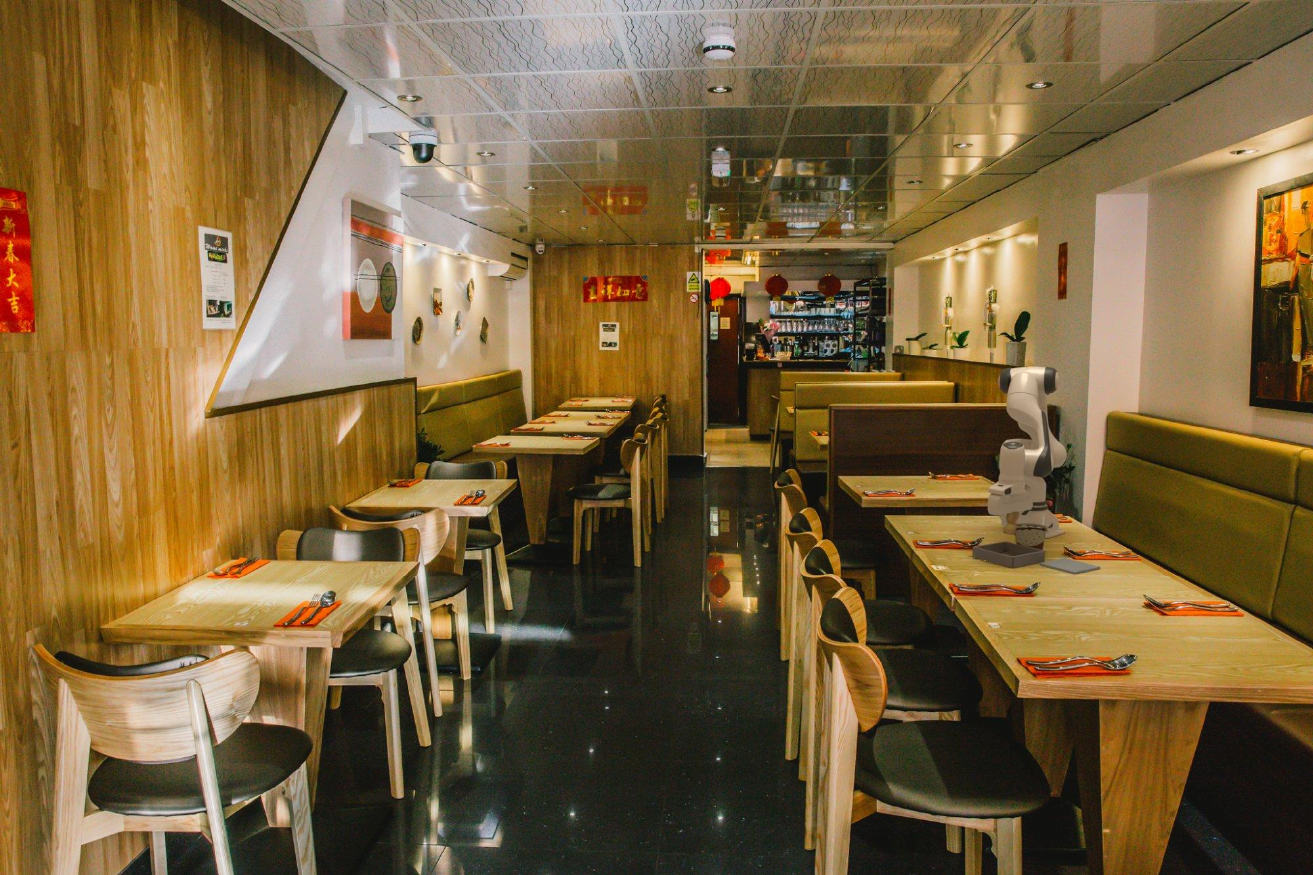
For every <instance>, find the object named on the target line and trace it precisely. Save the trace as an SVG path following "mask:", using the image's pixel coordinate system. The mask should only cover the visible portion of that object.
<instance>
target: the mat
mask: <svg viewBox="0 0 1313 875" xmlns="http://www.w3.org/2000/svg"><path fill="white" fill-rule="evenodd" d="M1039 566H1041V567H1044V568H1047V569H1052V570H1056V571H1060V572H1064V573H1068V574H1071V575H1079V574H1083V573H1088V572H1093V571H1097V570H1101V566H1099V565H1095V564H1089V563H1086V562H1082V561H1078V560H1074V559H1070V558H1066V557H1065V558H1060V559H1054V560H1048V561H1045V562H1043V563H1039Z"/></svg>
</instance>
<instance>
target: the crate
mask: <svg viewBox="0 0 1313 875" xmlns="http://www.w3.org/2000/svg"><path fill="white" fill-rule="evenodd" d="M1004 553H1007V554H1010V555H1007V554H1004ZM1011 555H1012V556H1011ZM972 557H975V558H977V559H976V560H979V559H981V560H980V561H983V560H986V561H988V563H990V562H992V563H991V564H994V565H997V564H998V566H1002V567H1005V568H1008V569H1016V568H1021V567H1026V566H1031V565H1037V564H1038V565H1039V564H1040V563H1043V562H1046V561H1045V559H1046V551H1045V549H1043V550H1040V549H1036V548H1031V547H1027V546H1023V545H1019V544H1016V542H1012V541H1007V540H1006V541H997V542H992V543H991V542H990V543H986V544H979V545H974V546H973V547H972ZM975 558H974V559H975ZM986 561H985V562H986Z"/></svg>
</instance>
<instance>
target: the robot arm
mask: <svg viewBox="0 0 1313 875" xmlns="http://www.w3.org/2000/svg"><path fill="white" fill-rule="evenodd" d="M1059 375H1060V374H1059V373H1058V371H1057V370H1056V368H1055V367H1051V366H1044V367H1043V366H1021V367H1014V368H1012V367H1008V368H1003V369H1002V371H1000V374H999V376H998V380H997V381H998V386H999V390H1000V392H1002V393H1003V394H1005V395H1007V396H1006V405H1005V406H1006V412H1007V414H1008V415H1009V417H1010V418H1011V419H1013V420H1014V421H1016V423H1017V424H1018V427H1019V429H1020V430H1021V431H1023V432H1025V433H1027V434H1028V435H1029V437H1030V438H1031V439H1028V438H1027V439H1025V438H1012V439H1006V440H1005V441H1004V442H1003V443H1002V444H1001V447H1000V452H999V454H998V455H997V469H998V470H999V475H998V481H997V482H996V483H994V484H992V485H990V486H989V487H988V490H987V491H988V493H989V494H988V498H987V511H988V512H987V513H988V514H989V515H991V516H999V519H1000V523H1001V526H1003V527H1004V526H1006V525H1008V521H1007V520H1006V516H1007V514H1008V513H1013V512H1017V524H1019V523H1033V524H1040V525H1044V526H1046V528H1047V531H1048V532H1046V534H1045V539H1050V538H1054V537H1057V536H1059V535H1063V534H1065V533H1066V532H1065V531H1066V530H1064V529H1062V528H1059V527H1060V521H1059V518H1058V517H1057V516H1056V515H1055V514H1053V513H1052V512H1051V510H1049V506H1050V507H1051V506H1053V501H1051V500H1046V496H1047V495H1046V494H1047V483H1046V481H1045V479H1044V478H1046V477H1048V476H1049V475H1050V474H1052V473H1053V470H1054V468H1061V467H1062V466H1063V465H1064V463H1065V462H1066V460H1067V458H1068V457H1067V455H1068V453H1067V449H1066V447H1065V445H1064V444H1062V443H1061V442H1059V441H1058V439H1057V438H1056V437H1055V436H1054V435H1053V433H1052V431H1051V428H1050V426H1049V421H1048V420H1049V418H1048V397H1047V396H1049V395H1050V394H1053V393H1055V392H1056V391H1057V389H1058V387H1059V385H1060V376H1059Z"/></svg>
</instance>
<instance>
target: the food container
mask: <svg viewBox="0 0 1313 875" xmlns="http://www.w3.org/2000/svg"><path fill="white" fill-rule="evenodd" d="M1046 532H1048V531H1047V528H1046V526H1044V525H1040V524H1033V523H1019V524H1017V529H1016V534H1014V535H1015V544H1019V545H1023V546H1027V547H1031V548H1036V549H1040V550H1044V547H1045V546H1044V545H1045V540H1046V538H1045V534H1046Z"/></svg>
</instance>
